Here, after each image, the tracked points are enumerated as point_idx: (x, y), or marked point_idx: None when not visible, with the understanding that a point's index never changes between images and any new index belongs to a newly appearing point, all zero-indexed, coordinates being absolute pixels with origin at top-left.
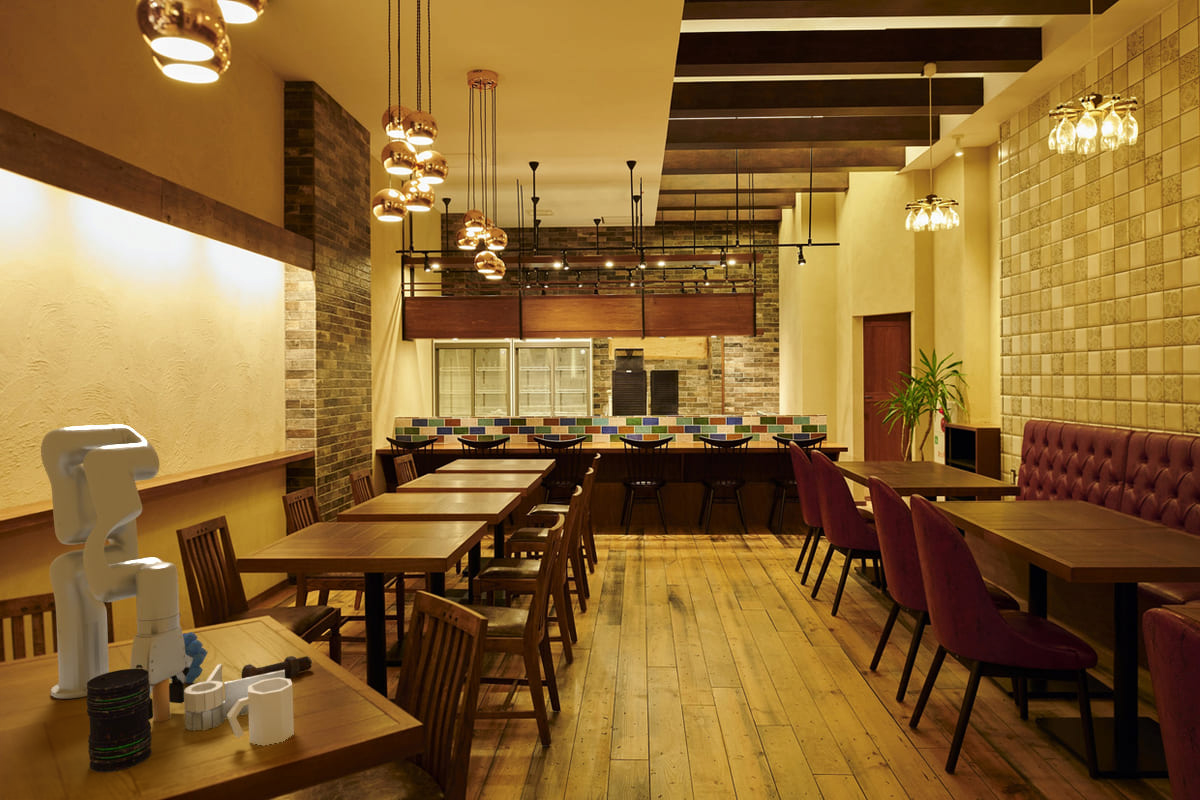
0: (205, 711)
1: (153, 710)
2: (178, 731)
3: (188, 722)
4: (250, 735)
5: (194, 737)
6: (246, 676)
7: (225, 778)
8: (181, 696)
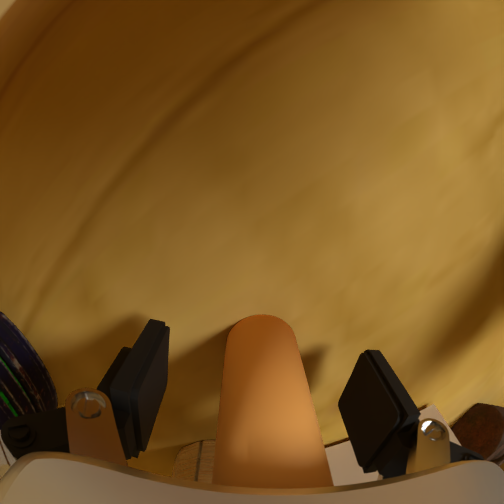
0: None
1: (229, 358)
2: (163, 436)
3: (174, 471)
4: None
5: (144, 468)
6: (477, 440)
7: None
8: (347, 426)
